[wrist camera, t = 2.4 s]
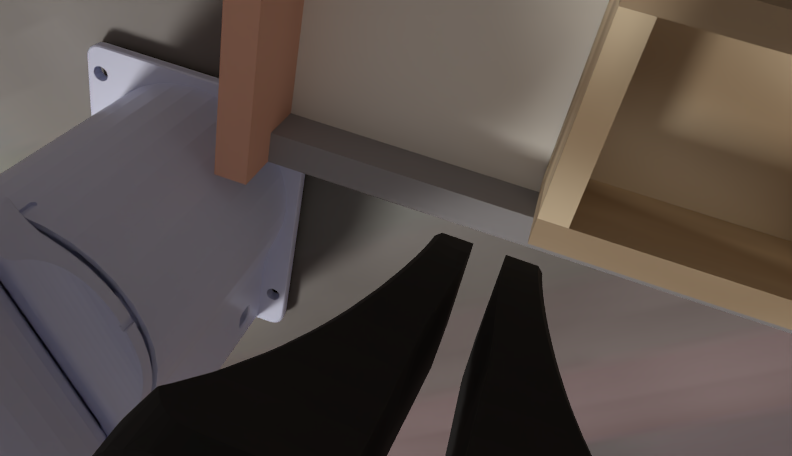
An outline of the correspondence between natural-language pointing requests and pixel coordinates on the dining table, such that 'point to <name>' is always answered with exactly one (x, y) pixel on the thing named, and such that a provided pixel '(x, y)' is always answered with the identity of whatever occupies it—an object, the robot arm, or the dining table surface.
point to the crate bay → (408, 100)
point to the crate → (681, 153)
